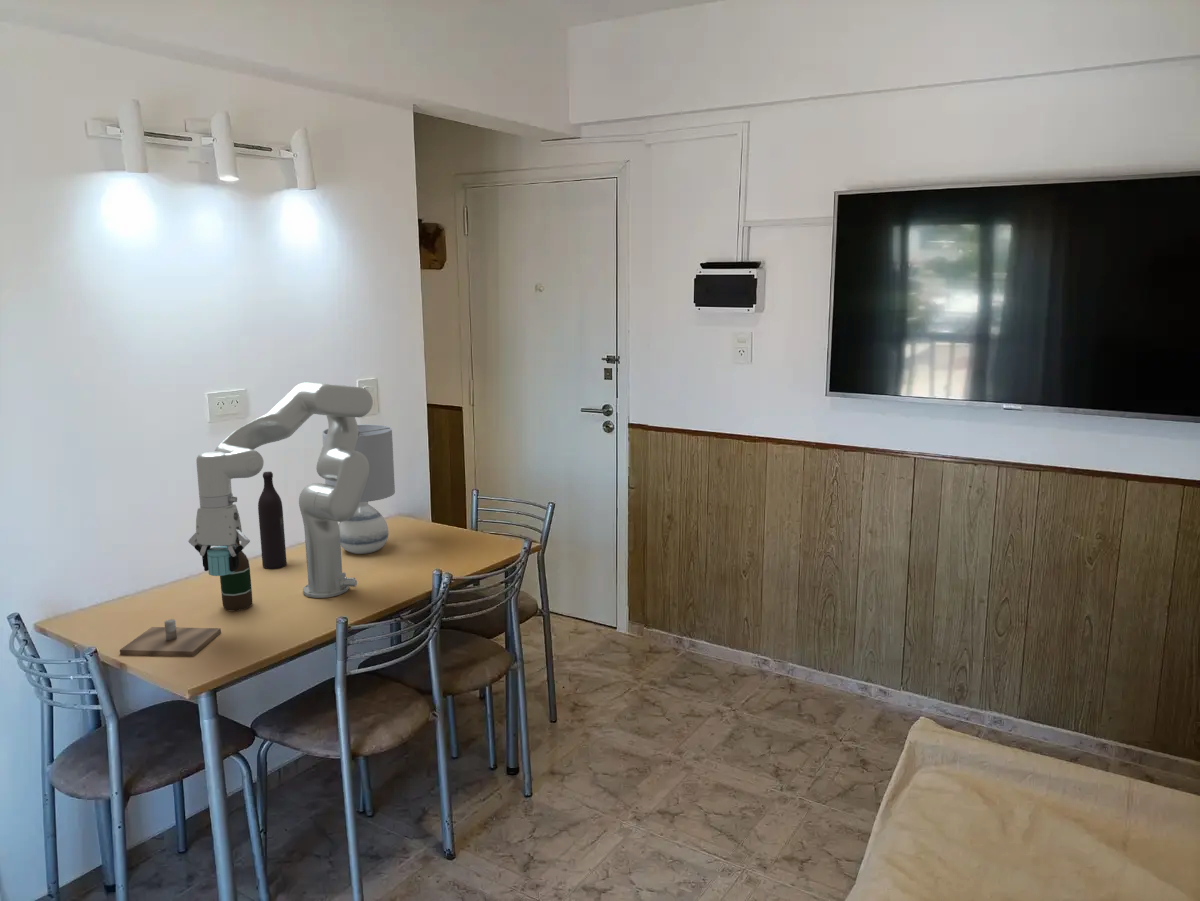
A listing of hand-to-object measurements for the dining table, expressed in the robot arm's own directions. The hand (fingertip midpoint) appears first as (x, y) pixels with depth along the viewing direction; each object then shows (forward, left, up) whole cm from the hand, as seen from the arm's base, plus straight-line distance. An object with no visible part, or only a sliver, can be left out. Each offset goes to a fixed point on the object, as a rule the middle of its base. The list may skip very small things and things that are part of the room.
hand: (221, 569), depth 223 cm
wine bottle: (+8, -49, -16) cm, 52 cm away
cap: (0, 0, -1) cm, 1 cm away
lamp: (-15, -66, -16) cm, 69 cm away
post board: (+9, +10, -16) cm, 21 cm away
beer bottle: (+4, -15, -16) cm, 22 cm away
